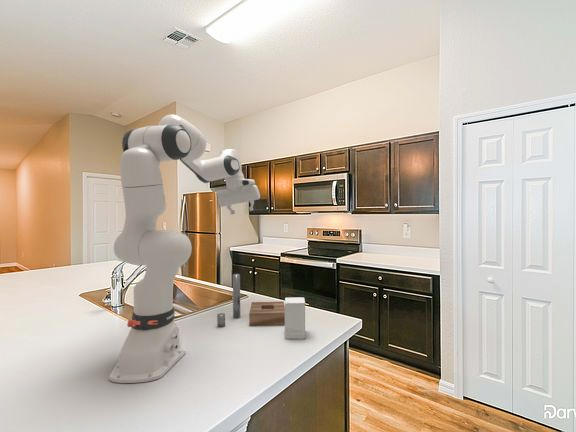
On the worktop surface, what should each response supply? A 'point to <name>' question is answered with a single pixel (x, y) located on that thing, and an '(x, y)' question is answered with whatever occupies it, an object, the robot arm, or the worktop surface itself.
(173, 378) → the worktop surface
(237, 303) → the long pin
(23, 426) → the worktop surface
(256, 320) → the collar block
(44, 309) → the worktop surface
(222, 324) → the short pin
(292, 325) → the supplement box
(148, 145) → the robot arm
